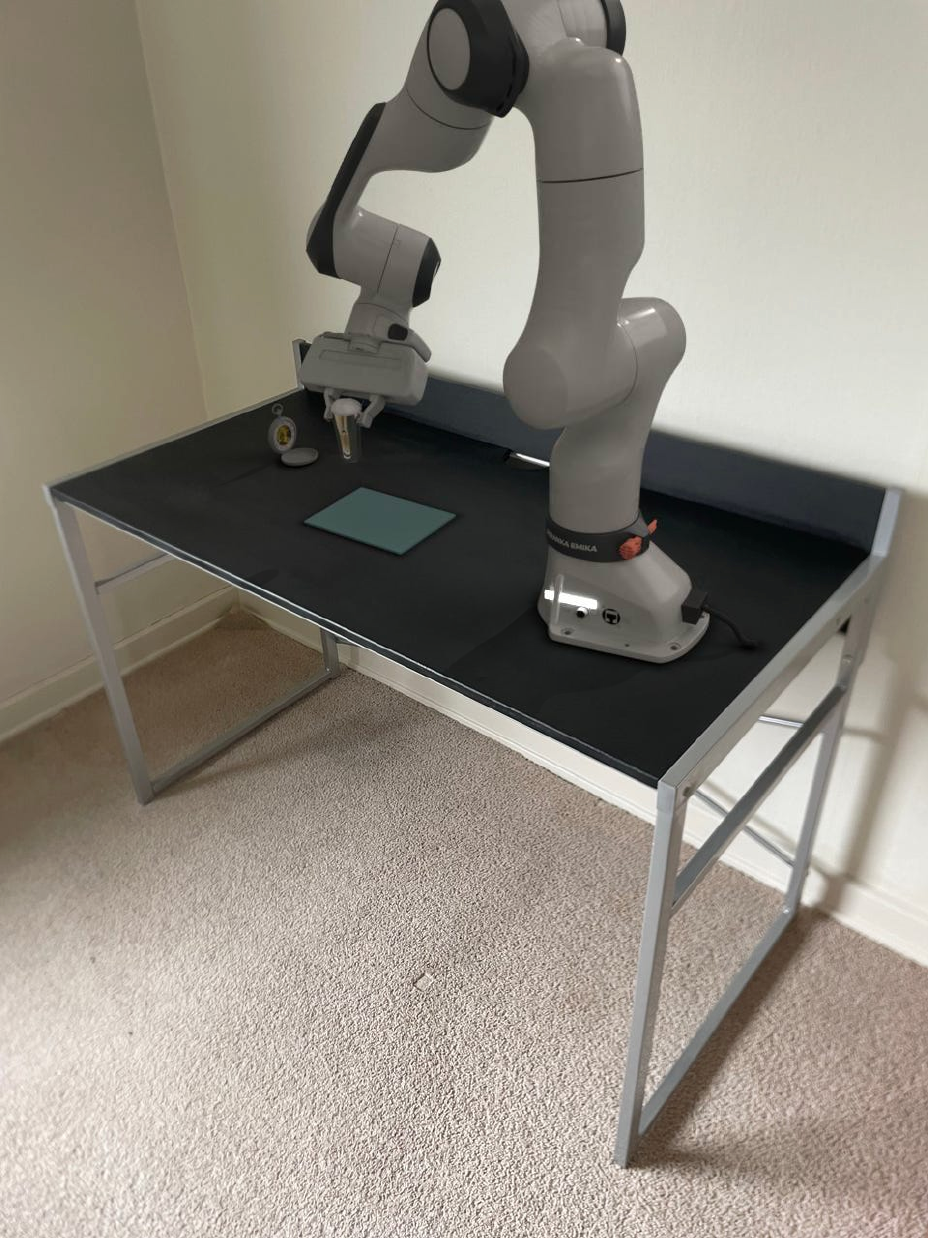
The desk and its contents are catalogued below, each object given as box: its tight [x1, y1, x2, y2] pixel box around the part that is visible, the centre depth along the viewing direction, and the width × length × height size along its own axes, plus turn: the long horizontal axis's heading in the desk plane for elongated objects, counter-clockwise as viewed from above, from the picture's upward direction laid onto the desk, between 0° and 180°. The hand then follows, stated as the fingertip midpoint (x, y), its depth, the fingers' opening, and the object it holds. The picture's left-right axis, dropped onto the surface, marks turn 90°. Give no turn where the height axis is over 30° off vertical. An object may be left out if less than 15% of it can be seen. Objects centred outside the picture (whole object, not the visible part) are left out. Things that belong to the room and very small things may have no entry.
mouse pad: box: [303, 486, 457, 556], centre depth 147 cm, size 20×14×1 cm
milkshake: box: [331, 396, 366, 463], centre depth 136 cm, size 4×5×10 cm
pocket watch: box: [267, 403, 319, 467], centre depth 166 cm, size 8×8×10 cm
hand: (346, 423), depth 135 cm, fingers closed on milkshake, 4 cm apart
